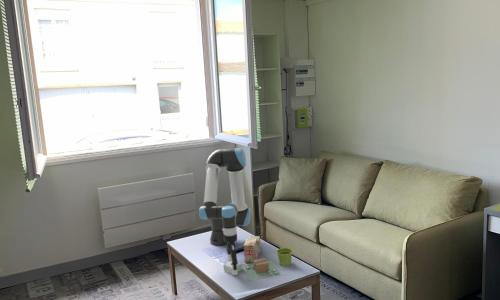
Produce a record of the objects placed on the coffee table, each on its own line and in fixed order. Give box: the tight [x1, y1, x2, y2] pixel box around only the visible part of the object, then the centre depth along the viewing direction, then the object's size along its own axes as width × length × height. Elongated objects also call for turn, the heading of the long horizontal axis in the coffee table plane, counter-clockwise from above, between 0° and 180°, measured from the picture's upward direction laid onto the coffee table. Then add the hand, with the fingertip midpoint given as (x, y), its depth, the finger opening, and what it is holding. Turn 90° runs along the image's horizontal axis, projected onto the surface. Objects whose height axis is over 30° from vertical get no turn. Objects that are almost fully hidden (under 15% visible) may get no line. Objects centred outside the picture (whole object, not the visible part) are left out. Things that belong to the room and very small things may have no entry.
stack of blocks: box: [243, 235, 262, 264], centre depth 254 cm, size 21×6×12 cm, turn 169°
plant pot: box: [275, 247, 294, 267], centre depth 240 cm, size 9×9×9 cm
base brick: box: [253, 257, 269, 273], centre depth 234 cm, size 7×7×5 cm
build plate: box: [242, 259, 283, 281], centre depth 235 cm, size 20×18×2 cm
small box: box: [223, 260, 243, 275], centre depth 237 cm, size 8×8×5 cm
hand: (232, 269), depth 237 cm, fingers open, 13 cm apart
